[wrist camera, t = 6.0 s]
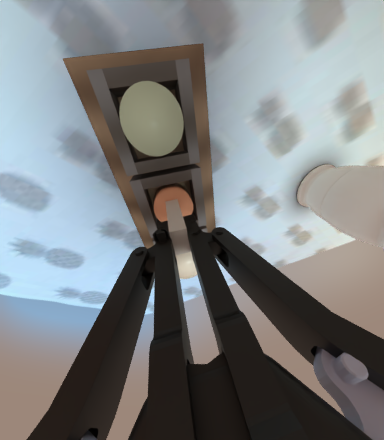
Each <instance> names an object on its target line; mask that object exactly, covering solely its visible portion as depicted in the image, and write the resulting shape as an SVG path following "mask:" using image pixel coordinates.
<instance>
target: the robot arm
mask: <svg viewBox="0 0 384 440" xmlns="http://www.w3.org/2000/svg"><path fill="white" fill-rule="evenodd" d="M165 203H166V212H167V221H163V222H159V224H158V225H157V230H156V231H155V232H154V233H153V238H154V240H155V245H153V246H152V247H150V248H148V249H147V248H146V247H139V248H136V249H135V250H134V251H133V252H132V253H131V255H130V257H129V259H128V260H127V262H126V264H125V266H124V268H123V270H122V272H121V274H120V276H119V277H118V279H117V281H116V283H115V285H114V287H113V289H112V291H111V293H110V294H109V296H108V298H107V300H106V302H105V304H104V306H103V308H102V310H101V312H100V313H99V315H98V317H97V319H96V321H95V323H94V325H93V327H92V329H91V330H90V332H89V334H88V336H87V338H86V340H85V342H84V344H83V345H82V347H81V349H80V351H79V353H78V355H77V357H76V359H75V361H74V363H73V364H72V366H71V368H70V370H69V372H68V374H67V376H66V378H65V379H64V381H63V383H62V385H61V387H60V389H59V391H58V393H57V395H56V397H55V398H54V400H53V402H52V404H51V406H50V408H49V410H48V411H47V412H46V414H45V415H44V417H43V418H42V420H41V421H40V422H39V424H38V425H37V427H36V428H35V429H34V431H33V432H32V433H31V435H30V436H29V437H28V439H27V440H106V438H107V436H108V433H109V431H110V428H111V425H112V423H113V420H114V418H115V415H116V412H117V408H118V405H119V402H120V399H121V396H122V392H123V389H124V385H125V382H126V378H127V374H128V371H129V367H130V364H131V360H132V357H133V353H134V350H135V346H136V343H137V339H138V335H139V332H140V328H141V325H142V321H143V318H144V314H145V311H146V307H147V304H148V300H149V296H150V293H151V289H152V286H153V282H154V279H155V296H154V338H153V340H152V341H151V344H150V352H149V379H148V381H149V382H148V397H147V399H146V401H145V403H144V405H143V407H142V409H141V411H140V413H139V415H138V418H137V420H136V422H135V425H134V427H133V429H132V432H131V434H130V436H129V438H128V440H384V339H382V338H380V337H378V336H376V335H374V334H372V333H370V332H368V331H367V330H365V329H363V328H361V327H359V326H357V325H355V324H353V323H351V322H349V321H348V320H346V319H344V318H342V317H340V316H338V315H336V314H334V313H333V312H331V311H330V310H329V309H327V308H326V307H325V306H323V305H322V304H321V303H320V302H318V301H317V300H316V299H314V298H313V297H312V296H311V295H309V294H308V293H307V292H306V291H304V290H303V289H302V288H300V287H299V286H298V285H296V284H295V283H294V282H293V281H291V280H290V279H289V278H287V277H286V276H285V275H284V274H282V273H281V272H280V271H279V270H277V269H276V268H275V267H274V266H272V265H271V264H270V263H268V262H267V261H266V260H265V259H263V258H262V257H261V256H259V255H258V254H257V253H256V252H254V251H253V250H252V249H251V248H249V247H248V246H247V245H245V244H244V243H243V242H242V241H240V240H239V239H238V238H236V237H235V236H234V235H233V234H231V233H230V232H229V231H227V230H226V229H225V228H221V227H217V228H214V229H213V230H212V232H203V231H202V230H201V229H200V228H199V226H198V224H197V222H196V220H195V217H194V216H193V215H187V216H182V212H181V209H180V206H179V203H178V200H177V199H175V200H170V201H166V202H165ZM188 252H191V253H192V258H193V261H194V264H195V268H196V271H197V275H198V278H199V282H200V285H201V289H202V292H203V296H204V299H205V303H206V306H207V310H208V313H209V316H210V320H211V324H212V327H213V330H214V334H215V337H216V341H217V345H218V350H219V353H220V354H219V355H218V356H217V357H216V358H214V359H213V360H212V361H211V362H209V363H208V364H194V361H193V356H192V352H191V347H190V340H189V334H188V328H187V322H186V315H185V309H184V303H183V296H182V290H181V284H180V277H179V271H178V265H177V259H176V255H180V254H184V253H188ZM215 258H216V259H217V260H218V261H219V262H220V264H221V265H222V266H223V267H224V268H225V269H226V271H227V272H228V273H229V274H230V275H231V276H232V277H233V279H234V280H235V281H236V282H237V283H238V284H239V285H240V287H241V288H242V289H243V290H244V291H245V292H246V293H247V295H248V296H249V297H250V298H251V299H252V300H253V302H254V303H255V304H256V305H257V306H258V307H259V309H260V310H261V311H262V312H263V313H264V314H265V315H266V317H267V318H268V319H269V320H270V321H271V322H272V324H273V325H274V326H275V327H276V328H277V329H278V330H279V332H280V333H281V334H282V335H283V336H284V337H285V338H286V340H287V341H288V342H289V343H290V344H291V345H292V346H293V347H294V348H295V349H296V350H297V351H298V352H299V353H300V354H301V355H302V356H303V357H304V358H305V359H306V360H307V361H309V362H310V363H311V364H312V365H313V366H314V371H315V374H316V376H317V379H318V381H319V382H320V384H321V385H322V387H323V388H324V389H325V390H326V391H327V392H328V393H329V394H330V395H331V396H332V397H333V399H334V400H335V401H336V402H337V404H338V405H339V407H340V408H341V410H342V412H343V413H344V416H345V417H344V416H343V415H341V414H340V413H339V412H338V411H336V410H335V409H334V408H333V407H332V406H330V405H329V404H328V403H327V402H325V401H324V400H323V399H322V398H321V397H319V396H318V395H317V394H316V393H314V392H313V391H312V390H311V389H309V388H308V387H307V386H306V385H304V384H303V383H302V382H301V381H300V380H298V379H297V378H296V377H294V376H293V375H292V374H291V373H290V372H288V371H287V370H286V369H285V368H283V367H282V366H281V365H280V364H279V363H277V362H276V361H275V360H273V359H272V358H271V357H269V356H267V355H266V354H264V353H263V351H262V349H261V347H260V345H259V343H258V340H257V338H256V336H255V334H254V332H253V330H252V328H251V326H250V324H249V322H248V320H247V318H246V316H245V315H244V313H243V312H241V311H240V310H239V308H238V306H237V304H236V302H235V300H234V298H233V295H232V293H231V291H230V289H229V287H228V285H227V283H226V280H225V278H224V276H223V274H222V272H221V270H220V268H219V266H218V263H217V261H216V259H215Z"/></svg>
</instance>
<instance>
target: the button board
mask: <svg viewBox="0 0 384 440" xmlns="http://www.w3.org/2000/svg"><path fill="white" fill-rule="evenodd" d="M63 61H64V63H65V65H66V67H67V70H68V72H69V74H70V77H71V79H72V81H73V83H74V86H75V88H76V90H77V93H78V95H79V97H80V99H81V102H82V104H83V106H84V109H85V111H86V113H87V115H88V118H89V120H90V122H91V125H92V127H93V129H94V131H95V134H96V136H97V138H98V141H99V143H100V145H101V147H102V150H103V152H104V154H105V157H106V159H107V161H108V163H109V166H110V168H111V170H112V173H113V175H114V177H115V179H116V182H117V184H118V186H119V189H120V191H121V193H122V195H123V198H124V200H125V202H126V205H127V207H128V209H129V211H130V214H131V216H132V218H133V221H134V223H135V225H136V227H137V230H138V232H139V234H140V237H141V239H142V241H143V243H144V246H145V247H146V248H147V249H148V248H150V247H152V246H153V245H155V240H154V238H153V233H154V232H155V231H156V230H157V225H158V224H159V222H161V221H159V220H158V218H157V217H156V215H155V213H154V197H155V193H156V191H157V190H158V189H159V188H160V187H161V186H163V185H168V184H173V183H176V184H179V185H181V186H183V187H184V188H185V189H186V191H187V192H188V194H189V196H190V198H191V200H192V202H193V212H192V214H191V215H193V216H194V217H195V220H196V222H197V224H198V226H199V228H200V229H201V230H202V231H203V232H212V230H213V229H214V228H215V213H214V198H213V182H212V167H211V152H210V137H209V122H208V107H207V92H206V77H205V62H204V47H203V43H202V44H193V45H184V46H175V47H165V48H156V49H147V50H138V51H128V52H119V53H110V54H101V55H91V56H82V57H73V58H64V59H63ZM141 81H152V82H156V83H158V84H160V85H162V86H164V87H165V88H167V89H168V90H169V91H170V92H171V93H172V94H173V95H174V97H175V98H176V100H177V102H178V103H179V105H180V108H181V111H182V114H183V121H184V128H183V134H182V137H181V140H180V142H179V144H178V145H177V147H176V148H175V149H174V150H173V151H172V152H170V153H168V154H166V155H163V156H149V155H146V154H144V153H142V152H140V151H139V150H137V149H136V148H135V147H134V146H133V145H132V144H131V143H130V142H129V140H128V139H127V137H126V136H125V134H124V132H123V129H122V126H121V123H120V114H119V111H120V104H121V100H122V97H123V96H124V94H125V92H126V91H127V90H128V89H129V88H130V87H131V86H132V85H134V84H135V83H138V82H141Z"/></svg>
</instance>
